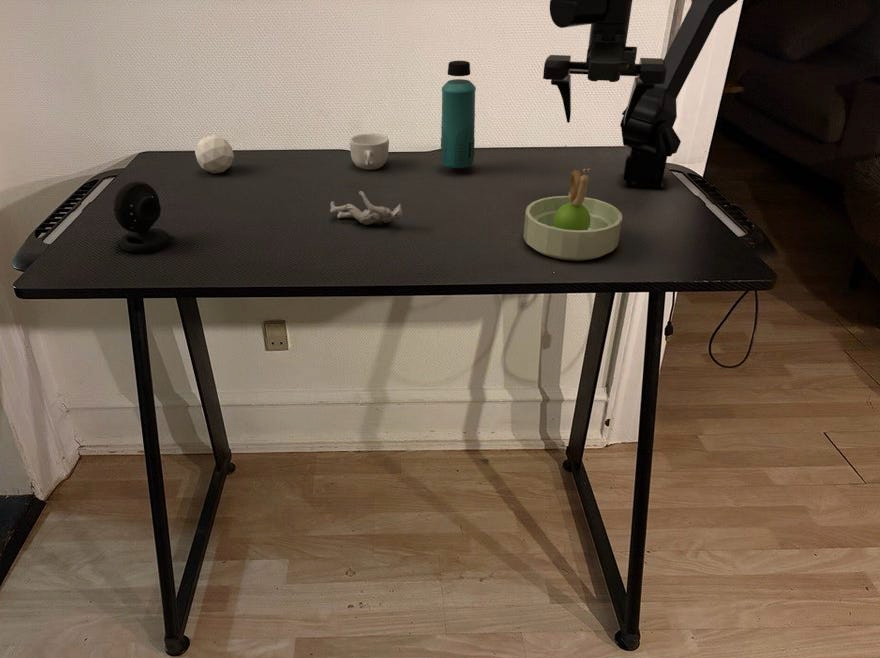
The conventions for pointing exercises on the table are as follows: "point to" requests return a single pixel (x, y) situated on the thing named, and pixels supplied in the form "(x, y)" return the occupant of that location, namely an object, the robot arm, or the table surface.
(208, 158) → the ornament
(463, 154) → the beverage bottle
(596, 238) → the basin
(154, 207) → the webcam
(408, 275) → the table surface
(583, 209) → the snail figurine
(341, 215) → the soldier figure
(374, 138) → the teacup
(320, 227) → the table surface
